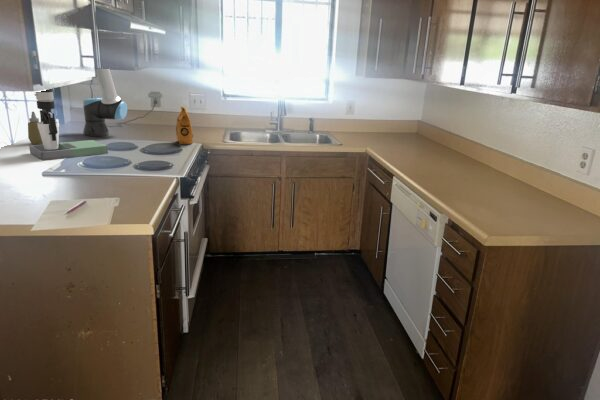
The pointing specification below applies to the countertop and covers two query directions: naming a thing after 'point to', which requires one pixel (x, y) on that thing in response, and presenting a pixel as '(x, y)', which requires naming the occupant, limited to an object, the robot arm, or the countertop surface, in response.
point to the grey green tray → (69, 150)
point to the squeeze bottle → (34, 130)
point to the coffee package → (184, 128)
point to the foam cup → (47, 135)
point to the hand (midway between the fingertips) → (51, 145)
